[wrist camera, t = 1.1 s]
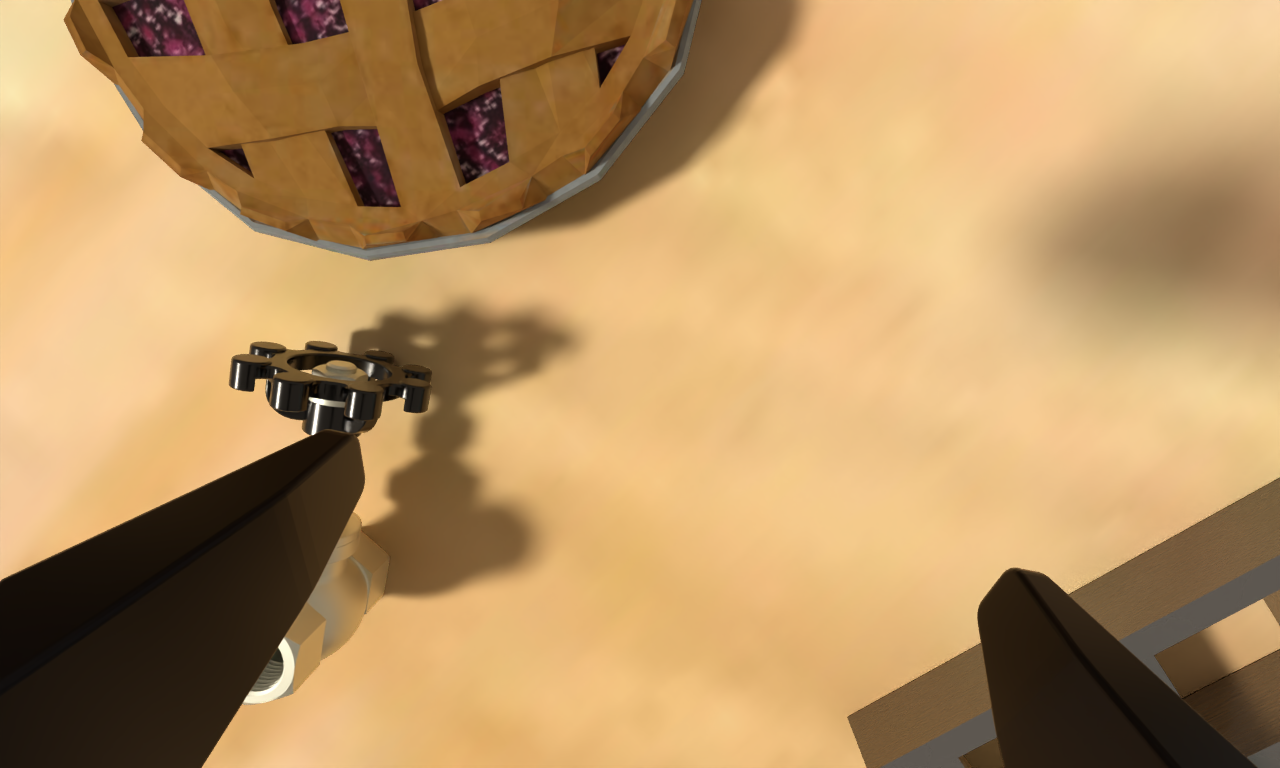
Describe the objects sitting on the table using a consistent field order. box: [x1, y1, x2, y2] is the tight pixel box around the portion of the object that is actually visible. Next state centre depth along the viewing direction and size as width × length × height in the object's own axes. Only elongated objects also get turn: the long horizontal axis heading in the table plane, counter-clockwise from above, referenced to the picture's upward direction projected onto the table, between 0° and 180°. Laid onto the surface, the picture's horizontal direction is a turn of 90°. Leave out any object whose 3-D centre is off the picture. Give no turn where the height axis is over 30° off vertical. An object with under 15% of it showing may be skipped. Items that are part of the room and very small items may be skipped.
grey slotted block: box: [848, 478, 1280, 768], centre depth 24 cm, size 20×8×3 cm, turn 126°
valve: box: [229, 341, 432, 705], centre depth 22 cm, size 7×7×12 cm
